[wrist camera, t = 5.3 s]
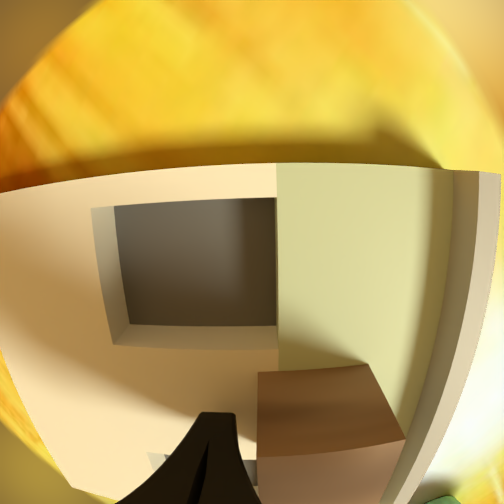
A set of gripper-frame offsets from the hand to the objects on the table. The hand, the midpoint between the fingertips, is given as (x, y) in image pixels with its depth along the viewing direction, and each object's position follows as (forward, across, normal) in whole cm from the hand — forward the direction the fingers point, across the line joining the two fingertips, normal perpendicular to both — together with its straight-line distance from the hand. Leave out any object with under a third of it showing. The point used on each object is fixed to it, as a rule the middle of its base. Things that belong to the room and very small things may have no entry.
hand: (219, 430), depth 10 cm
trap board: (+3, +1, 0) cm, 3 cm away
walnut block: (+1, -3, 0) cm, 4 cm away
